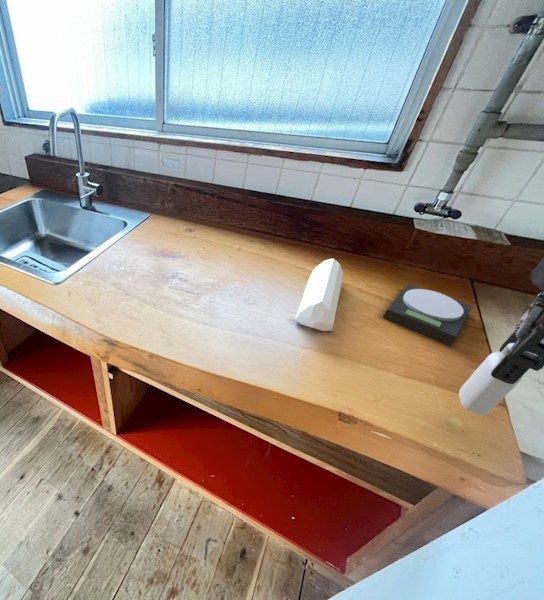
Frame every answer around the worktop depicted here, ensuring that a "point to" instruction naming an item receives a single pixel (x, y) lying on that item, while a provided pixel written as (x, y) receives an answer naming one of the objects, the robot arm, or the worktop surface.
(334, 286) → the chamfered white bar
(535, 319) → the robot arm
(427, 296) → the kitchen scale
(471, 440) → the worktop surface
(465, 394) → the eye dropper bottle
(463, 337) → the worktop surface
